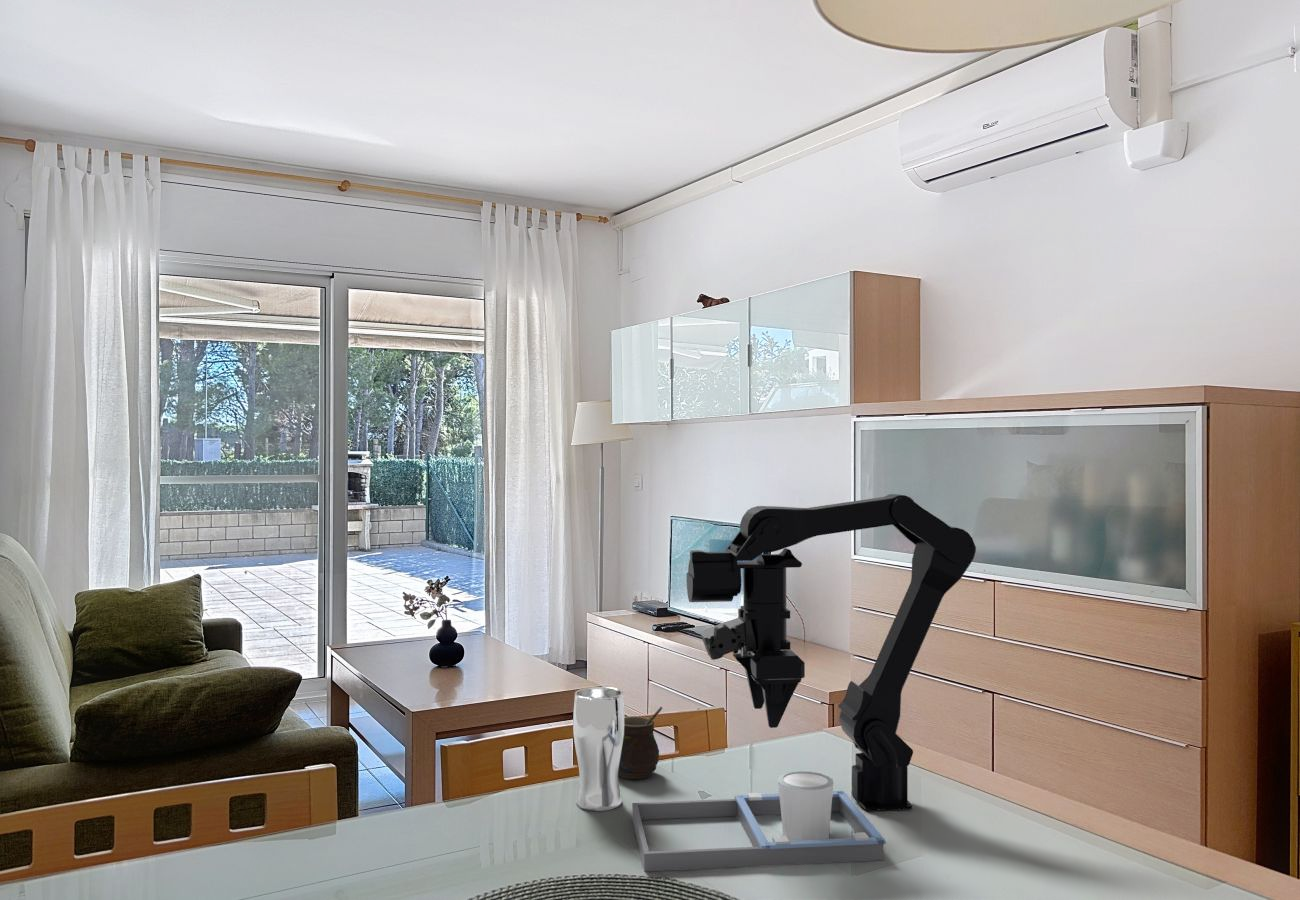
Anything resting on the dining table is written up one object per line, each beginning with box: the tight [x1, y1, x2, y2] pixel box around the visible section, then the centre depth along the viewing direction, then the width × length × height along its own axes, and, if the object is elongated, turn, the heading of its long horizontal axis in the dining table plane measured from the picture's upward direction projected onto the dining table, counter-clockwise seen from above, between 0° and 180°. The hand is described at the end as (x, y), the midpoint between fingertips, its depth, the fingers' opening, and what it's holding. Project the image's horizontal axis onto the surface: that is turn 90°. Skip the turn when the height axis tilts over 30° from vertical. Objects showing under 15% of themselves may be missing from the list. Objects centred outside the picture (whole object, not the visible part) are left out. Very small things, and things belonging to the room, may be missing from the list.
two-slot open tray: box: [631, 790, 887, 872], centre depth 121 cm, size 28×16×3 cm, turn 96°
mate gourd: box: [618, 706, 663, 780], centre depth 144 cm, size 7×8×10 cm
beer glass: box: [572, 686, 626, 812], centre depth 133 cm, size 7×7×15 cm
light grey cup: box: [777, 771, 834, 841], centre depth 122 cm, size 7×7×7 cm
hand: (765, 717), depth 131 cm, fingers open, 9 cm apart
